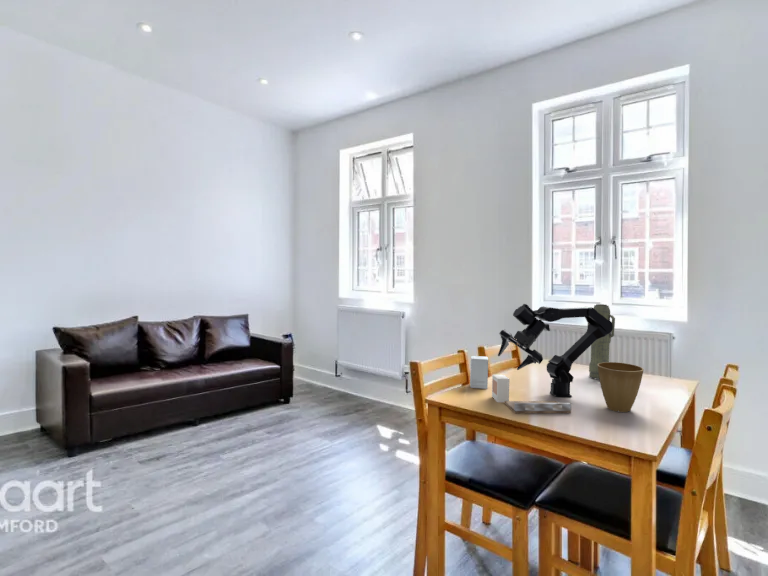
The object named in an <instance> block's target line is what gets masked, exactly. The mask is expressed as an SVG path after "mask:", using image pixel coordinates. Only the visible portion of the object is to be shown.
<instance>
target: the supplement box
mask: <svg viewBox="0 0 768 576" xmlns="http://www.w3.org/2000/svg"><path fill="white" fill-rule="evenodd" d="M469 374H470V376H469V377H470V379H469V380H470V383H469V384H470V385H469V387H470V388H471V389H472V388H474V389H485V390H488V388H489V387H488V380H489V357H488V356H479V355H471V357H470V373H469Z"/></svg>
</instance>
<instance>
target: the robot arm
mask: <svg viewBox="0 0 768 576" xmlns="http://www.w3.org/2000/svg"><path fill="white" fill-rule="evenodd" d="M512 316H513V317H514V318H515V319H516V320H517V321H519V322H520V323H521V324H522V325H523V326H526V325H527V326H526V327H525V328H524V329H522V330H521V331H520V330H517V331H516V333H515V334H514V336H513V335H512V333H511V332H509V330H506V329H505V328H504V329H502V330H500V332H499V333H498V334H499V335H500V339H501V345H500V347H499V351H498V353H497V356H498V357H501V355H502V354H503V353H504V352H505V350H506V349H507V348H508V347H509V344H510V343H512V344H513V345H516V346H517V347H518V348H519V349H521V350H522V351H524V352H525V353H527V354H528V355H527V356H526V357H525V359H524V360H523V361H522V362H521V363H520V364H519V365H518V366H517V368H516V370H517V371H519V370H521V369H522V368H525V367H526V366H529V365H531V364H538V365H540V364H541V363H543V360H544V358H543V355H542V354H541V353H540V352H539V351H537V350H536V349H533V350H532V349H531V348H530V347H531V346H532V345H533V344H534V343H535V342H536V341H537V339H538V337H540V335H541V334H542V332H543V331H545V332H546V331H547V332H550V331H551V328H550V324H549V323H552V322H556V321H560V320H562V319H570V318H573V319H574V318H575V319H576V318H585V321H586V322H587V324H588V323H589V326H588V325H587V330H586V332H585V333H584V334H583V335H582V336H581V337H579V339H578V340H576V341H575V343H573V345H571V346H570V347H569V348H568V350H567V351H565V352H564V353H563V354H562V355H557V354H554V355H553V356H552V358H551V359H549V360H547V362H548V363H547V364H546V372H547V373H548V374H549V378H551V382H550V391H549V393H550V395H552V396H554V397H557V398H565V397H566V398H572V397H573V396H572V395H571V383H573V381H574V376H573V374H571V373H570V371H571V370H572V366H573V364H574V362H576V360H578V358H580V357H581V355H582V354H584V353H585V352H586V351H587V349H589V348H591V345H592V344H593V343H594V342H595V341H596V340H597V339H599V338H602V337H605V336H606V335H608V334H609V333H610V332H611V331H612V330H613V324H612V320H611V319H610V320H607V319H606V318H605V317H604V316H602V315H601V314H600V313H598V312H597V311H596V310H595V309H594V307H592V306H584V307H566V308H564V307H563V308H558V307H550V306H540V307H539V308H538V309H536V310H535V309H534V310H533V309H532V308H531V307H530V306H529V305H528V304H527V303H523V304H522V305H521V306H519V307H517V309H515V310H514V312H513V313H512ZM545 322H547V323H545ZM509 342H510V343H509Z"/></svg>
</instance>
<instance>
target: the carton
mask: <svg viewBox="0 0 768 576" xmlns="http://www.w3.org/2000/svg"><path fill="white" fill-rule="evenodd" d="M491 377H492V381H491V382H492V383H491V398H492V397H493V398H494V399H493V398H492V399H493V400H494V401H495V402H496V403H504V401H510V378H509V377H507V376H506V375H505V374H492V376H491Z"/></svg>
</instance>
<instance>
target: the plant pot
mask: <svg viewBox="0 0 768 576" xmlns="http://www.w3.org/2000/svg"><path fill="white" fill-rule="evenodd" d="M598 373H599V379H598V380H599V383H600V388H601V393H602V395H603V398H604V402H605V404H606V407H607V409H608V410H610V411H613V412H617V411H619V412H618V413H629V412H631V410H632V408H633V406H634V403H635V401H636V399H637V396H638V394H639V390H640V387H641V384H642V379H643V375H644V367H641V366H639V365H636V364H632V363H628V362H627V363H625V362H618V361H617V362H616V361H610V362H603V363H599V364H598ZM628 411H629V412H628Z"/></svg>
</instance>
